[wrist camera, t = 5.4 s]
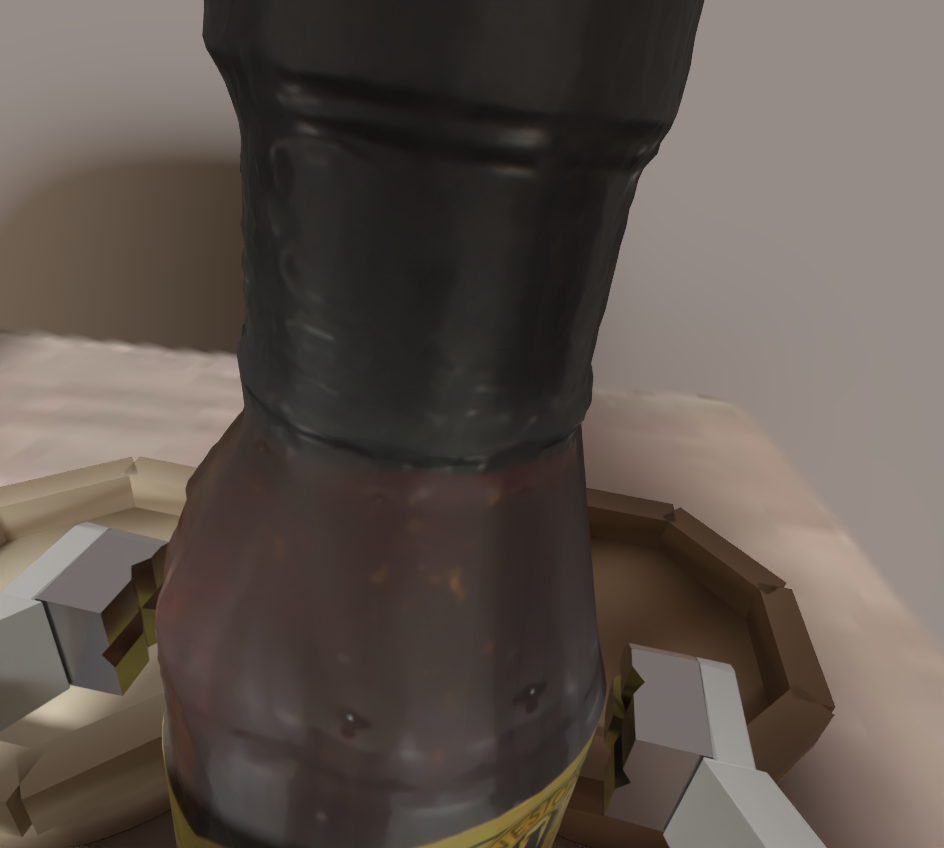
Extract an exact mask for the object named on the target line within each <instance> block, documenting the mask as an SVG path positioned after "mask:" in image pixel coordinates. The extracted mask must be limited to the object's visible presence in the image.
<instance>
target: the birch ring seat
mask: <svg viewBox="0 0 944 848" xmlns="http://www.w3.org/2000/svg"><path fill="white" fill-rule="evenodd" d="M196 469H197V468H196V467H190V466H185V465H180V464H175V463H170V462H165V461H160V460H155V459H150V458H144V457H139V458H138V459H137V460H136V461H135V462H133V459H132V457H129V458H125V459H120V460H116V461H112V462H107V463H103V464H99V465H94V466H90V467H86V468H81V469H77V470H73V471H68V472H64V473H60V474H55V475H51V476H47V477H42V478H38V479H34V480H29V481H25V482H20V483H16V484H12V485H7V486H3V487H0V592H1V591H2V590H3V589H4V588H5V587H6V586H7V585H9V584H10V583H11V582H12V581H13V580H14V579H15V578H16V577H18V576H19V575H20V574H21V573H22V572H23V571H24V570H25V569H27V568H28V567H29V566H30V565H31V564H32V563H33V562H35V561H36V560H37V559H38V558H39V557H40V556H41V555H42V554H44V553H45V552H46V551H47V550H48V549H49V548H50V547H51V546H53V545H54V544H55V543H56V542H57V541H58V540H59V539H60V538H62V537H63V536H64V535H65V534H66V533H67V532H68V531H70V530H71V529H72V528H73V527H74V526H76V525H79V524H81V523H84V522H89V523H94V524H98V525H102V526H106V527H110V528H116V529H120V530H124V531H128V532H132V533H136V534H140V535H144V536H148V537H152V538H156V539H160V540H164V541H168V542H169V541H170V539H171V537H172V534H173V532H174V530H175V529H176V527H177V525H178V521H179V518H180V515H181V513H182V510H183V507H184V505H185V502H186V500H187V498H186V491H185V488H186V485H187V482H188V480H189V479H190V477H191V476H192V475H193V474H194V472H195V470H196ZM157 659H158V648H157V643H156V644H154V645H152V646H150V647H149V662H148V663H147V665H146V666H145V667H144V669H143V670H142V671H141V673H140V674H139V675H138V677H137V678H136V679H135V681H134V682H133V683H132V685H131V686H130V687H129V689H128V690H127V691H126V692H125V694H124V695H123V696H119V695H114V694H110V693H105V692H100V691H96V690H91V689H86V688H82V687H77V686H73V685H70V689H68V690H67V691H65V692H63V693H62V694H60V695H59V696H57V697H55V698H54V699H52V700H51V701H49V702H47V703H46V704H44V705H43V706H41V707H39V708H38V709H36V710H35V711H33V712H31V713H30V714H28V715H27V716H25V717H23V718H22V719H20V720H19V721H17V722H15V723H14V724H12V725H11V726H9V727H7V728H6V729H4V730H2V731H1V732H0V846H2V847H6V848H69V847H73V846H77V845H82V844H86V843H91V842H94V841H97V840H100V839H103V838H106V837H109V836H112V835H114V834H117V833H120V832H123V831H126V830H128V829H130V828H133V827H135V826H137V825H139V824H141V823H144V822H146V821H148V820H150V819H152V818H154V817H157V816H159V815H160V814H162V813H164V812H166V811H167V810H169V809H171V804H170V797H169V791H168V784H167V778H166V771H165V764H164V757H163V749H162V722H163V715H164V708H165V698H164V687H163V682H162V678H161V675H160V665H159V662H158V660H157Z"/></svg>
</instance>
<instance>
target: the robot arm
mask: <svg viewBox="0 0 944 848" xmlns="http://www.w3.org/2000/svg"><path fill="white" fill-rule="evenodd" d="M168 543H169V542H168V541H164V540H160V539H156V538H152V537H148V536H144V535H140V534H136V533H132V532H128V531H124V530H120V529H116V528H110V527H106V526H102V525H98V524H94V523H89V522H84V523H81V524H79V525H76V526H74V527H73V528H72V529H71V530H70V531H68V532H67V533H66V534H65V535H64V536H63V537H62V538H60V539H59V540H58V541H57V542H56V543H55V544H54V545H53V546H51V547H50V548H49V549H48V550H47V551H46V552H45V553H44V554H42V555H41V556H40V557H39V558H38V559H37V560H36V561H35V562H33V563H32V564H31V565H30V566H29V567H28V568H27V569H25V570H24V571H23V572H22V573H21V574H20V575H19V576H18V577H16V578H15V579H14V580H13V581H12V582H11V583H10V584H9V585H7V586H6V587H5V588H4V589H3V590H2V591H1V592H0V732H1V731H2V730H4V729H6V728H7V727H9V726H11V725H12V724H14V723H15V722H17V721H19V720H20V719H22V718H23V717H25V716H27V715H28V714H30V713H31V712H33V711H35V710H36V709H38V708H39V707H41V706H43V705H44V704H46V703H47V702H49V701H51V700H52V699H54V698H55V697H57V696H59V695H60V694H62V693H63V692H65V691H67V690H68V689H70V685H73V686H77V687H82V688H86V689H91V690H96V691H100V692H105V693H110V694H114V695H119V696H123V695H124V694H125V692H126V691H127V690H128V689H129V687H130V686H131V685H132V683H133V682H134V681H135V679H136V678H137V677H138V675H139V674H140V673H141V671H142V670H143V669H144V667H145V666H146V665H147V663H148V662H149V647H150V646H152V645H154V644H156V643H157V640H156V636H155V615H156V606H157V601H158V596H159V593H160V591H161V589H162V585H163V574H164V565H165V560H166V552H167V545H168ZM604 742H605V744H606V745H607V747H608V748H609V750H610V752H611V753H610V755H609V758H608V761H607V763H606V766H605V769H604V815H605V816H608V817H612V818H615V819H619V820H623V821H626V822H630V823H634V824H637V825H641V826H644V827H648V828H652V829H655V830H659V831H662V832H664V834H663V836H664V838H665V840H666V842H667V844H668V846H669V847H670V848H827V847H826V846H825V845H824V843H823V842H822V841H821V840H820V838H819V837H818V836H817V835H816V833H815V832H814V831H813V830H812V828H811V827H810V826H809V825H808V823H807V822H806V821H805V820H804V818H803V817H802V816H801V815H800V813H799V812H798V811H797V810H796V808H795V807H794V806H793V804H792V803H791V802H790V801H789V799H788V798H787V797H786V796H785V794H784V793H783V792H782V791H781V789H780V788H779V787H778V786H777V784H776V783H775V782H774V781H773V779H772V778H771V777H770V776H769V774H768V773H767V772H763V771H760V770H756V767H755V762H754V758H753V753H752V748H751V744H750V739H749V735H748V730H747V725H746V721H745V716H744V711H743V707H742V702H741V698H740V693H739V688H738V684H737V679H736V674H735V671H734V669H733V668H732V666H731V665H730V664H726V663H721V662H717V661H712V660H707V659H703V658H698V657H695V658H694V657H693V656H690V655H685V654H680V653H676V652H671V651H666V650H661V649H657V648H652V647H647V646H642V645H637V644H633V643H628V644H627V645H626V646H625V648H624V650H623V653H622V655H621V658H620V675H618V676H616V677H615V678H613V681H612V684H611V687H610V690H609V694H608V699H607V705H606V710H605V722H604ZM0 848H6V847H2V846H0Z"/></svg>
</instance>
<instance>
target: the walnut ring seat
mask: <svg viewBox="0 0 944 848" xmlns="http://www.w3.org/2000/svg"><path fill="white" fill-rule="evenodd" d="M586 493H587V506H588V519H589V531H590V543H591V555H592V567H593V579H594V591H595V603H596V615H597V627H598V637H599V642H600V648H601V653H602V658H603V663H604V669H605V676H606V683H607V687H606V696H605V702H604V707H603V710H602V713H601V716H600V719H599V722H598V725H597V728H596V731H595V734H594V737H593V740H592V743H591V746H590V750H589V753H588V756H587V758H586V760H585V762H584V764H583V767H582V769H581V772H580V774H579V777H578V779H577V782H576V784H575V787H574V790H573V792H572V795H571V797H570V800H569V803H568V805H567V808H566V810H565V813H564V816H563V818H562V821H561V824H560V827H559V829H558V832H557V835H559V836H561V837H563V838H566V839H568V840H570V841H573V842H576V843H580V844H583V845H586V846H589V847H593V848H670V847H669V846H668V844H667V842H666V840H665V838H664V836H663V834H664V832H662V831H659V830H655V829H652V828H648V827H644V826H641V825H637V824H634V823H630V822H626V821H623V820H619V819H615V818H612V817H608V816H605V815H604V769H605V766H606V763H607V761H608V758H609V755H610V753H611V752H610V750H609V748H608V747H607V745H606V744H605V742H604V722H605V710H606V705H607V699H608V694H609V690H610V687H611V684H612V681H613V678H615V677H616V676H618V675H620V658H621V655H622V653H623V650H624V648H625V646H626V645H627V644H628V643H633V644H637V645H642V646H647V647H652V648H657V649H661V650H666V651H671V652H676V653H680V654H685V655H690V656H693V657H694V658H695V657H698V658H703V659H707V660H712V661H717V662H721V663H726V664H730V665H731V666H732V668H733V669H734V671H735V674H736V679H737V684H738V688H739V693H740V698H741V702H742V707H743V711H744V716H745V721H746V725H747V730H748V735H749V739H750V744H751V748H752V753H753V758H754V762H755V767H756V770H760V771H763V772H767V773H768V774H769V776H770V777H771V778H772V779H773V781H774V782H775V783H776V782H777V781H778V780H779V779H780V778H781V777H782V776H783V775H784V774H785V773H786V772H787V771H788V770H789V769H790V768H791V767H792V766H793V765H794V764H795V763H797V762H798V761H799V760H800V759H801V758H802V757H803V756H804V755H805V754H806V753H807V752H808V751H809V750H810V749H811V748H812V747H813V746H814V745H815V743H816V742H817V740H818V739H819V737H820V736H821V734H822V733H823V731H824V730H825V728H826V727H827V725H828V724H829V722H830V721H831V719H832V718H833V716H834V714H832V711H833V710H834V708H835V705H834V702H833V700H832V697H831V694H830V691H829V689H828V686H827V683H826V681H825V678H824V675H823V672H822V670H821V667H820V664H819V662H818V659H817V656H816V654H815V651H814V648H813V645H812V643H811V640H810V637H809V635H808V632H807V629H806V626H805V624H804V621H803V618H802V616H801V613H800V610H799V607H798V605H797V602H796V599H795V597H794V594H793V591H792V589H788V588H784V586H785V584H786V582H784V581H783V580H782V579H780V578H779V577H777V576H776V575H775V574H773V573H772V572H770V571H769V570H768V569H766V568H765V567H763V566H762V565H761V564H759V563H758V562H756V561H755V560H753V559H752V558H751V557H749V556H748V555H746V554H745V553H744V552H742V551H741V550H739V549H738V548H737V547H735V546H734V545H732V544H731V543H730V542H728V541H727V540H725V539H724V538H723V537H721V536H720V535H718V534H717V533H716V532H714V531H713V530H711V529H710V528H708V527H707V526H706V525H704V524H703V523H701V522H700V521H699V520H697V519H696V518H694V517H693V516H692V515H690V514H689V513H687V512H686V511H685V510H683V509H682V508H678V509H676V510H674V507H673V504H668V503H663V502H658V501H652V500H647V499H642V498H636V497H631V496H626V495H621V494H615V493H610V492H605V491H599V490H594V489H589V488H586Z"/></svg>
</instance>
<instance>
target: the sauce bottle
mask: <svg viewBox="0 0 944 848" xmlns="http://www.w3.org/2000/svg"><path fill="white" fill-rule="evenodd" d="M703 3H704V0H204V19H203V35H202V36H203V39H204V43H205V46H206V49H207V50H208V52H209V54H210V55H211V57H212V59H213V61H214V62H215V64H216V66H217V67H218V69H219V72H220V73H221V75H222V77H223V79H224V81H225V84H226V87H227V89H228V92H229V95H230V97H231V100H232V103H233V106H234V109H235V112H236V115H237V118H238V121H239V127H240V134H241V155H240V159H241V161H240V172H241V180H242V221H241V228H242V233H243V238H244V244H245V247H244V250H243V253H242V268H243V271H244V287H243V292H244V298H245V304H246V311H245V323H244V324H243V327H242V337H241V340H240V341H239V343H238V351H237V359H238V365H239V371H240V378H241V382H242V390H243V398H244V409H243V411H242V412H241V413H240V414H239V415H238V416H237V418H236V419H235V420H234V421H233V423H232V424H231V425H230V426H229V428H228V429H227V430H226V432H225V433H224V435H223V436H222V437H221V439H220V440H219V441H218V442H217V443H216V444H215V445H214V446H213V447H212V448H211V450H210V451H209V453H208V454H207V456H206V457H205V459H204V460H203V461H202V463H201V464H200V465H199V466H198V468H197V469H196V470H195V472H194V474H193V475H192V476H191V477H190V479H189V480H188V482H187V485H186V488H185V491H186V498H187V500H186V502H185V505H184V507H183V510H182V513H181V515H180V518H179V521H178V525H177V527H176V529H175V530H174V532H173V534H172V537H171V539H170V541H169V543H168V545H167V552H166V560H165V565H164V574H163V585H162V589H161V591H160V593H159V596H158V601H157V606H156V615H155V636H156V640H157V648H158V659H157V660H158V662H159V665H160V675H161V678H162V682H163V687H164V698H165V708H164V715H163V722H162V749H163V757H164V764H165V771H166V778H167V784H168V791H169V797H170V804H171V811H172V818H173V825H174V832H175V839H176V846H177V848H552V846H553V843H554V840H555V837H556V835H557V832H558V829H559V827H560V824H561V821H562V818H563V816H564V813H565V810H566V808H567V805H568V803H569V800H570V797H571V795H572V792H573V790H574V787H575V784H576V782H577V779H578V777H579V774H580V772H581V769H582V767H583V764H584V762H585V760H586V758H587V756H588V753H589V750H590V746H591V743H592V740H593V737H594V734H595V731H596V728H597V725H598V722H599V719H600V716H601V713H602V710H603V707H604V702H605V696H606V687H607V683H606V676H605V669H604V663H603V658H602V653H601V648H600V642H599V637H598V627H597V615H596V603H595V591H594V579H593V567H592V555H591V543H590V531H589V519H588V506H587V493H586V481H585V468H584V455H583V442H582V429H581V423H582V421H583V420H584V417H585V414H586V411H587V410H588V408H589V406H590V404H591V400H592V386H593V372H592V366H591V361H592V357H593V353H594V349H595V345H596V341H597V336H598V330H599V326H600V323H601V321H602V318H603V315H604V312H605V309H606V305H607V301H608V296H609V292H610V287H611V283H612V279H613V275H614V271H615V267H616V263H617V259H618V254H619V250H620V245H621V242H622V239H623V235H624V232H625V229H626V225H627V220H628V214H629V209H630V206H631V204H632V201H633V199H634V195H635V191H636V187H637V183H638V180H639V177H640V175H641V173H642V171H643V169H644V167H645V166H646V165H647V164H648V163H649V162H650V161H651V160H652V159H653V158H654V157H655V155H657V153H658V150H659V147H660V143H661V142H662V140H663V139H664V137H665V136H666V134H667V133H668V132H669V130H670V129H671V126H672V124H673V122H674V120H675V118H676V115H677V113H678V109H679V106H680V103H681V99H682V95H683V92H684V88H685V85H686V81H687V77H688V73H689V70H690V66H691V59H692V53H693V46H694V40H695V35H696V31H697V27H698V23H699V19H700V15H701V12H702V8H703Z"/></svg>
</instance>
